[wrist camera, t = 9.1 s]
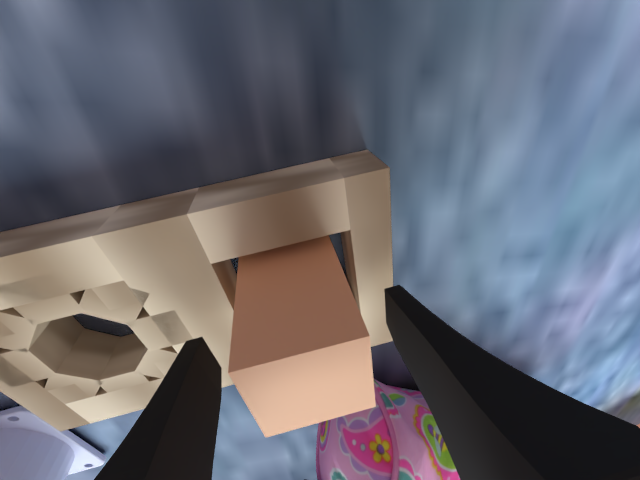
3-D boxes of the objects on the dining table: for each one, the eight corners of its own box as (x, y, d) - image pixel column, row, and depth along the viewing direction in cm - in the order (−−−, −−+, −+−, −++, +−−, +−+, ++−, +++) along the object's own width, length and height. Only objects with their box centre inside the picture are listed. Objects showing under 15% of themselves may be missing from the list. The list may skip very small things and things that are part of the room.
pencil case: (293, 414, 23) (310, 585, 15) (354, 341, 19) (415, 517, 12) (463, 432, 32) (527, 548, 24) (527, 384, 28) (625, 502, 21)
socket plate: (84, 385, 17) (60, 431, 15) (-73, 248, 11) (-149, 291, 9) (378, 307, 18) (394, 340, 16) (367, 149, 12) (389, 167, 10)
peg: (262, 297, 16) (265, 437, 10) (240, 238, 14) (227, 373, 8) (332, 280, 16) (375, 406, 10) (322, 219, 14) (369, 336, 8)
